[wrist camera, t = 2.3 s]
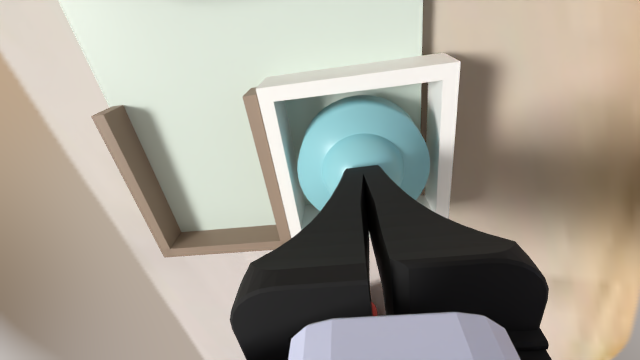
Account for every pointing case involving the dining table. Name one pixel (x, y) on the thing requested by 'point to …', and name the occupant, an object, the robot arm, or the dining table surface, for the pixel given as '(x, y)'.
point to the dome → (361, 146)
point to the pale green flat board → (249, 105)
